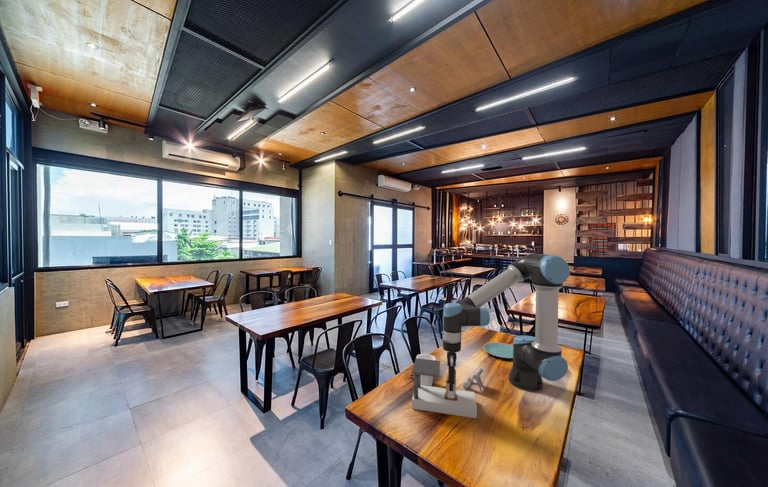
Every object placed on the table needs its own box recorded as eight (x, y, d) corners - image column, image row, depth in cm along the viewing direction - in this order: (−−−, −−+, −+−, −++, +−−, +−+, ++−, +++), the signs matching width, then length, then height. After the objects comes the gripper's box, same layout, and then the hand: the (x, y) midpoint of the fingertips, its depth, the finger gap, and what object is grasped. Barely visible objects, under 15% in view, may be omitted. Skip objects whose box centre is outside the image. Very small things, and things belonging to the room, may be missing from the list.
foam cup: (435, 390, 131) (435, 363, 131) (415, 388, 133) (415, 361, 133) (435, 380, 141) (435, 354, 140) (417, 378, 142) (417, 353, 142)
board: (474, 401, 123) (474, 392, 123) (476, 418, 111) (476, 408, 111) (415, 392, 129) (415, 384, 129) (411, 408, 117) (411, 399, 117)
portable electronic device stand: (469, 381, 140) (469, 364, 140) (485, 386, 136) (485, 369, 135) (463, 388, 133) (463, 371, 133) (479, 394, 129) (480, 376, 128)
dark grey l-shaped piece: (439, 387, 127) (440, 360, 127) (438, 403, 114) (438, 374, 114) (415, 383, 129) (415, 358, 129) (411, 399, 117) (412, 371, 116)
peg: (455, 400, 121) (456, 368, 121) (455, 406, 117) (456, 373, 117) (445, 399, 122) (446, 367, 122) (445, 404, 118) (446, 371, 118)
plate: (528, 362, 162) (529, 357, 162) (490, 361, 163) (490, 356, 163) (512, 346, 185) (512, 342, 185) (478, 346, 185) (478, 342, 185)
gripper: (443, 332, 128) (442, 383, 128) (442, 346, 111) (441, 404, 112) (460, 334, 126) (459, 385, 127) (461, 348, 110) (460, 407, 110)
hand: (450, 394), depth 119 cm, fingers closed on peg, 4 cm apart
